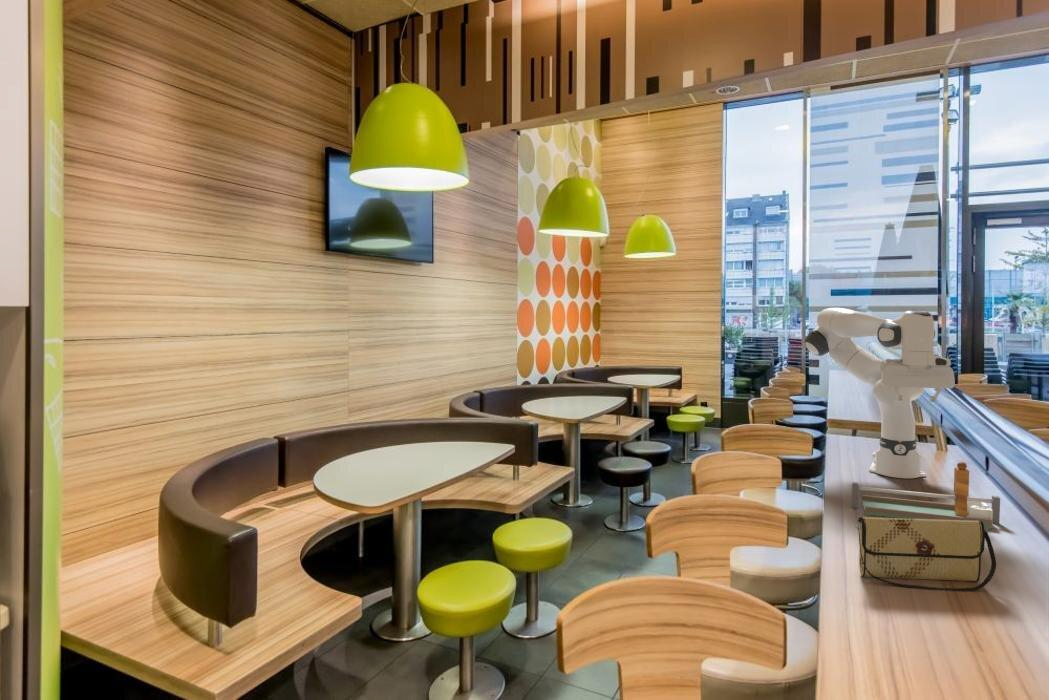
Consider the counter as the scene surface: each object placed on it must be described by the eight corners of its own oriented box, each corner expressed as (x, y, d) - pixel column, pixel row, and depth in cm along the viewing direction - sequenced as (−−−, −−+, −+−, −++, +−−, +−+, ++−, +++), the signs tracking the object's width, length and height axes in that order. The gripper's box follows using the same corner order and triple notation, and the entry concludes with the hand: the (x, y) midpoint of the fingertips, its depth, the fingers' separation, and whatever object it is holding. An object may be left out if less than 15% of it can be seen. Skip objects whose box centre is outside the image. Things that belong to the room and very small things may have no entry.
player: (952, 511, 179) (954, 459, 178) (964, 512, 178) (966, 460, 177) (956, 515, 175) (957, 463, 174) (968, 516, 174) (969, 464, 173)
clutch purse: (863, 587, 135) (864, 524, 134) (851, 573, 142) (852, 514, 141) (1003, 593, 131) (1005, 529, 130) (983, 579, 138) (985, 518, 137)
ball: (983, 506, 175) (978, 517, 176) (969, 502, 177) (964, 512, 178) (986, 510, 172) (982, 521, 173) (972, 505, 174) (967, 516, 174)
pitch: (850, 500, 195) (850, 477, 194) (991, 516, 179) (992, 490, 178) (853, 513, 183) (854, 488, 183) (1005, 530, 167) (1006, 503, 166)
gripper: (881, 359, 192) (881, 400, 193) (956, 360, 183) (955, 403, 184) (879, 358, 198) (878, 398, 199) (952, 359, 189) (950, 400, 190)
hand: (916, 400), depth 191 cm, fingers open, 8 cm apart
